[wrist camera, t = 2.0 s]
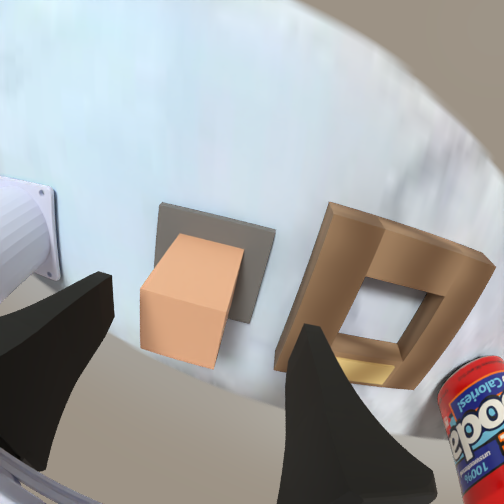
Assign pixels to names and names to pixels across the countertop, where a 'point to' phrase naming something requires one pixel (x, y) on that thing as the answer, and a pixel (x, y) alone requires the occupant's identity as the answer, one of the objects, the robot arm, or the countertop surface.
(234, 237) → the pad
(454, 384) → the soda can
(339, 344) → the socket block
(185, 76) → the countertop surface
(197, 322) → the peg
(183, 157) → the countertop surface
